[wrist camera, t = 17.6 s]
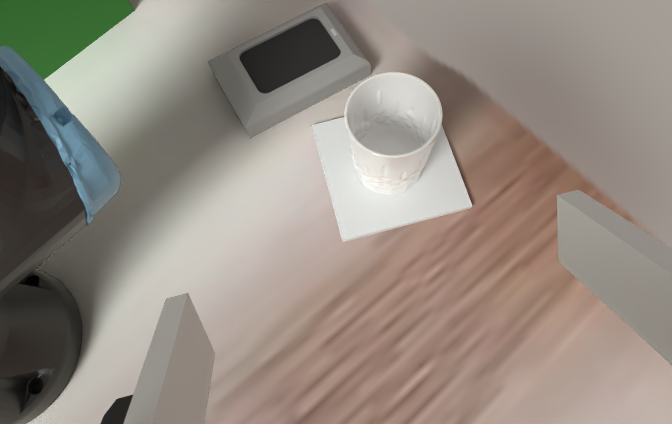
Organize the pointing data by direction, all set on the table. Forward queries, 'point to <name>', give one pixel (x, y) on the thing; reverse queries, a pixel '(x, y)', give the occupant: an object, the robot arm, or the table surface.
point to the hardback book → (56, 28)
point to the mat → (378, 209)
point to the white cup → (391, 130)
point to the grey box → (289, 69)
